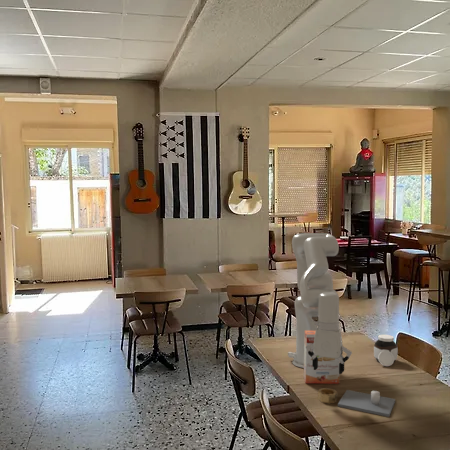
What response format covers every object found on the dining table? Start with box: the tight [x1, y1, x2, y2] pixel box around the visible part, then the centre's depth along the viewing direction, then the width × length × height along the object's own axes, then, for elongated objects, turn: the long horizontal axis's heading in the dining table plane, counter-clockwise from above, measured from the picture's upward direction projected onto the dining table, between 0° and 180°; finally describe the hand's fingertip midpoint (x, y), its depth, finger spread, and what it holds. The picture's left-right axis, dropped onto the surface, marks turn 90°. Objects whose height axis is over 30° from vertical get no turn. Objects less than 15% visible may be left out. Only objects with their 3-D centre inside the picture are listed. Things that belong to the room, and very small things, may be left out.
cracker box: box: [303, 331, 340, 385], centre depth 196 cm, size 14×6×21 cm, turn 90°
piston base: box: [337, 389, 396, 418], centre depth 175 cm, size 18×14×5 cm
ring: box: [317, 387, 338, 404], centre depth 179 cm, size 7×7×3 cm
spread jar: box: [373, 334, 399, 367], centre depth 219 cm, size 12×11×12 cm
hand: (328, 371), depth 178 cm, fingers open, 9 cm apart
